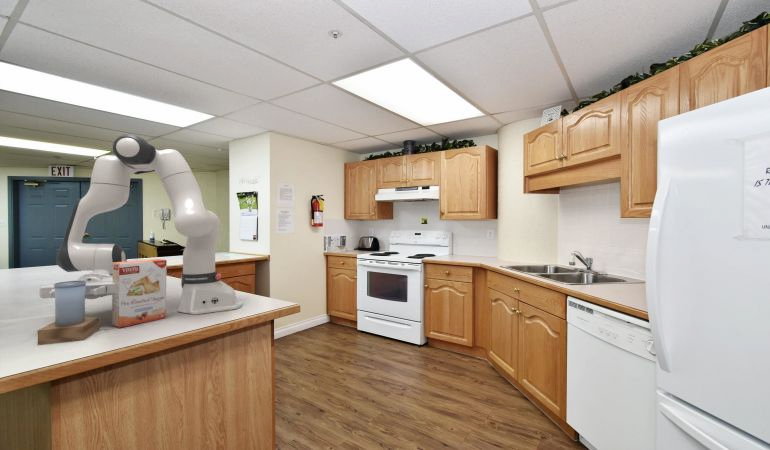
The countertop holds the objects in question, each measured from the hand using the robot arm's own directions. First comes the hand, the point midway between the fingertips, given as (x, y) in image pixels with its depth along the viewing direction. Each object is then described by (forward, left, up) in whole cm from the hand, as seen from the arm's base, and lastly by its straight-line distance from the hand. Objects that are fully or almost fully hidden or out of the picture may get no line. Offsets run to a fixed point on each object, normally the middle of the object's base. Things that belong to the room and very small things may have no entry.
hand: (72, 293), depth 98 cm
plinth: (0, +1, -13) cm, 13 cm away
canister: (0, +1, -9) cm, 9 cm away
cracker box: (-14, -9, -13) cm, 21 cm away
